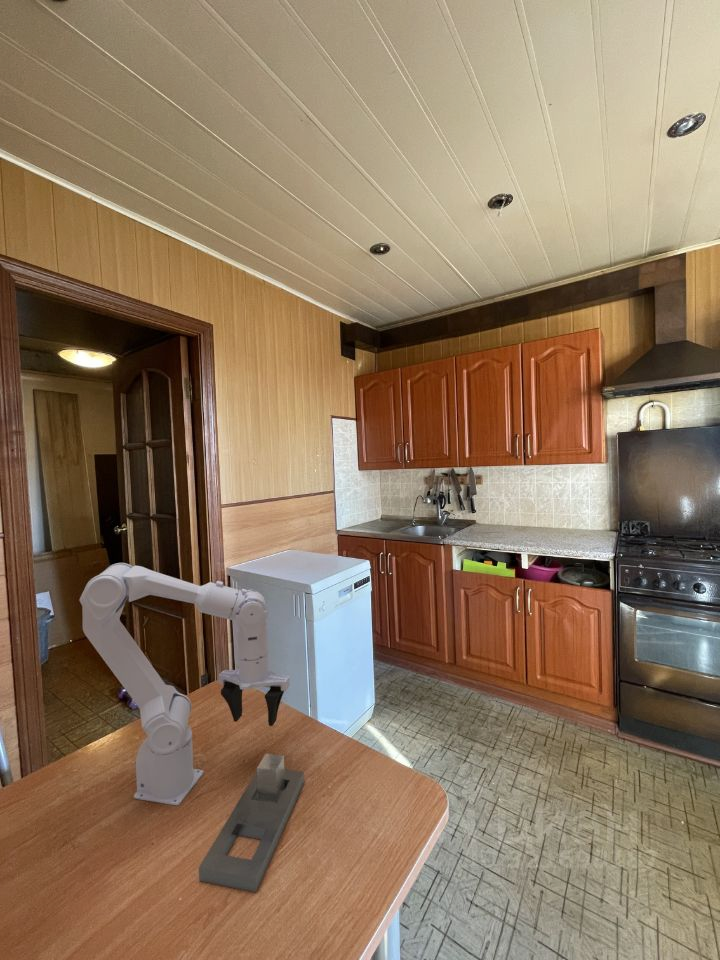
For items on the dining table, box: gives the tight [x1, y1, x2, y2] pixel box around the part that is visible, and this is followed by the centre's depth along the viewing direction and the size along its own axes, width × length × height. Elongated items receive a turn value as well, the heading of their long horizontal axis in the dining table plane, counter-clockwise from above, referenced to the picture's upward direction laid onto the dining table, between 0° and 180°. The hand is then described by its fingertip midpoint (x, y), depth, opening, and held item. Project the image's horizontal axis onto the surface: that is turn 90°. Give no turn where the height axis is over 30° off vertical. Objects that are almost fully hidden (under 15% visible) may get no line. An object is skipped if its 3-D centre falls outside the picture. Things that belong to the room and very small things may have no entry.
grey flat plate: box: [198, 768, 305, 893], centre depth 67 cm, size 9×20×2 cm, turn 168°
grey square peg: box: [256, 753, 285, 804], centre depth 72 cm, size 4×4×7 cm
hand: (255, 720), depth 80 cm, fingers open, 7 cm apart
